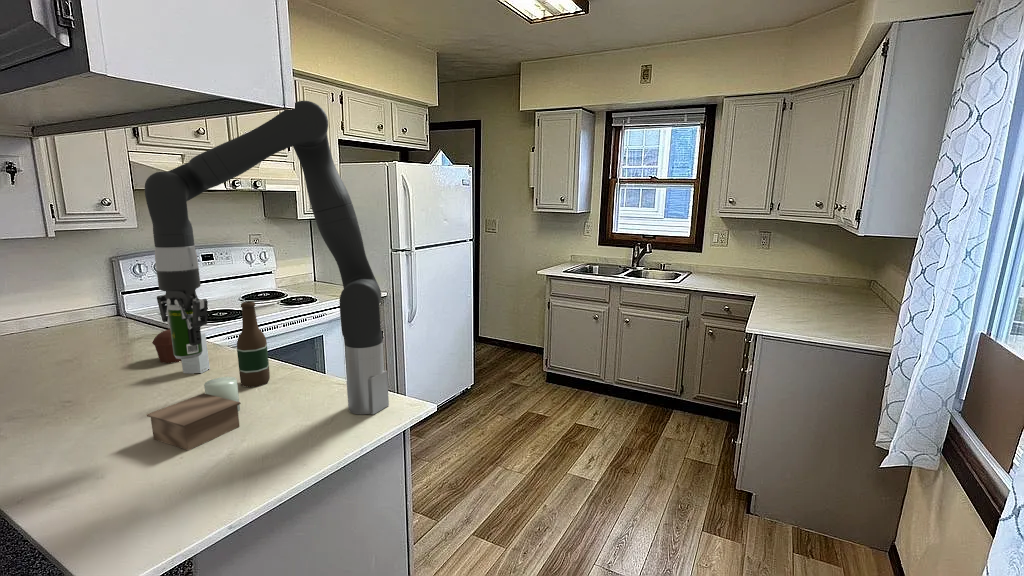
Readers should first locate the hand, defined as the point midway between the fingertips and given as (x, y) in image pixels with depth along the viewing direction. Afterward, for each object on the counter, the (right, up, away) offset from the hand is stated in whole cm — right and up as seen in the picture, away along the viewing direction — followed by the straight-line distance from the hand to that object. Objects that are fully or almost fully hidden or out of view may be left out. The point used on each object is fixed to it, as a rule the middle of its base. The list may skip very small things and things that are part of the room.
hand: (186, 342), depth 108 cm
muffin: (-40, -12, +55) cm, 69 cm away
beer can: (0, -3, +1) cm, 3 cm away
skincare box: (-26, -14, +43) cm, 52 cm away
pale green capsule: (0, -19, +15) cm, 24 cm away
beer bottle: (-3, -16, +34) cm, 38 cm away
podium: (0, -21, +4) cm, 21 cm away
